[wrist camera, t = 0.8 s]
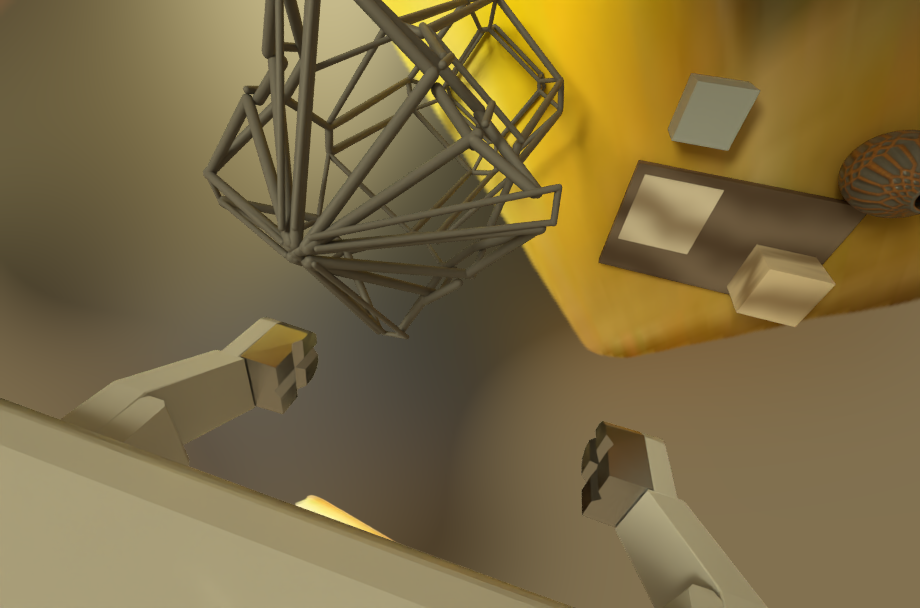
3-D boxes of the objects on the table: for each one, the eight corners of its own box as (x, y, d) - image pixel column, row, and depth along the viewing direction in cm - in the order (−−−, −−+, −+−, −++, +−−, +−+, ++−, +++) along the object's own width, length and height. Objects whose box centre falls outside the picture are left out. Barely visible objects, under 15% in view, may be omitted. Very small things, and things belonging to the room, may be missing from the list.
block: (756, 244, 43) (770, 269, 39) (816, 257, 42) (835, 284, 38) (726, 286, 47) (736, 312, 43) (780, 299, 46) (795, 327, 42)
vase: (874, 206, 38) (926, 252, 32) (807, 179, 39) (846, 219, 32) (953, 139, 34) (1033, 176, 27) (877, 108, 34) (938, 138, 27)
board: (638, 159, 42) (639, 163, 41) (866, 204, 38) (871, 210, 38) (599, 258, 51) (598, 263, 50) (781, 302, 47) (784, 308, 46)
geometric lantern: (493, 184, 49) (356, 412, 23) (398, 84, 44) (103, 225, 19) (601, 82, 39) (576, 285, 13) (492, -58, 35) (140, -168, 9)
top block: (691, 72, 36) (697, 80, 33) (748, 81, 35) (760, 90, 32) (667, 128, 40) (671, 140, 37) (719, 137, 39) (728, 150, 36)
